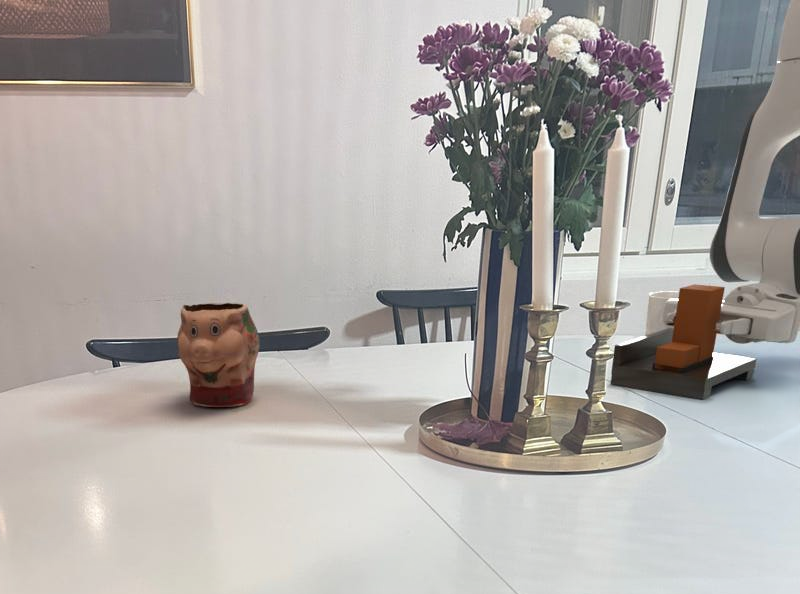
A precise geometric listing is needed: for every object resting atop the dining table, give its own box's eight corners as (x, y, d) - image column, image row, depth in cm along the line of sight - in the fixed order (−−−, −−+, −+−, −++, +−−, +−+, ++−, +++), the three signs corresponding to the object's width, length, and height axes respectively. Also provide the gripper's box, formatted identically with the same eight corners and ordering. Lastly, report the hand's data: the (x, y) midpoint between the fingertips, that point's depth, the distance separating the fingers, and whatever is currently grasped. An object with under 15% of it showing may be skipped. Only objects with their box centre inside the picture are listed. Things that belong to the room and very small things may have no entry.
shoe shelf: (753, 377, 148) (760, 338, 145) (702, 399, 137) (709, 358, 134) (664, 364, 158) (669, 327, 155) (609, 384, 146) (614, 345, 144)
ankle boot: (713, 361, 145) (726, 286, 140) (683, 373, 139) (695, 295, 134) (682, 357, 149) (694, 284, 143) (652, 368, 142) (663, 292, 137)
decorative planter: (192, 384, 153) (184, 294, 146) (266, 382, 152) (262, 292, 146) (172, 416, 135) (162, 316, 129) (256, 415, 135) (251, 314, 128)
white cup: (697, 357, 162) (708, 296, 157) (660, 361, 160) (669, 299, 155) (668, 348, 168) (677, 290, 164) (631, 352, 166) (639, 293, 161)
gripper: (697, 285, 155) (641, 294, 148) (814, 300, 140) (757, 310, 133) (691, 325, 158) (636, 335, 151) (804, 343, 143) (748, 356, 136)
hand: (693, 324), depth 142 cm, fingers open, 8 cm apart
